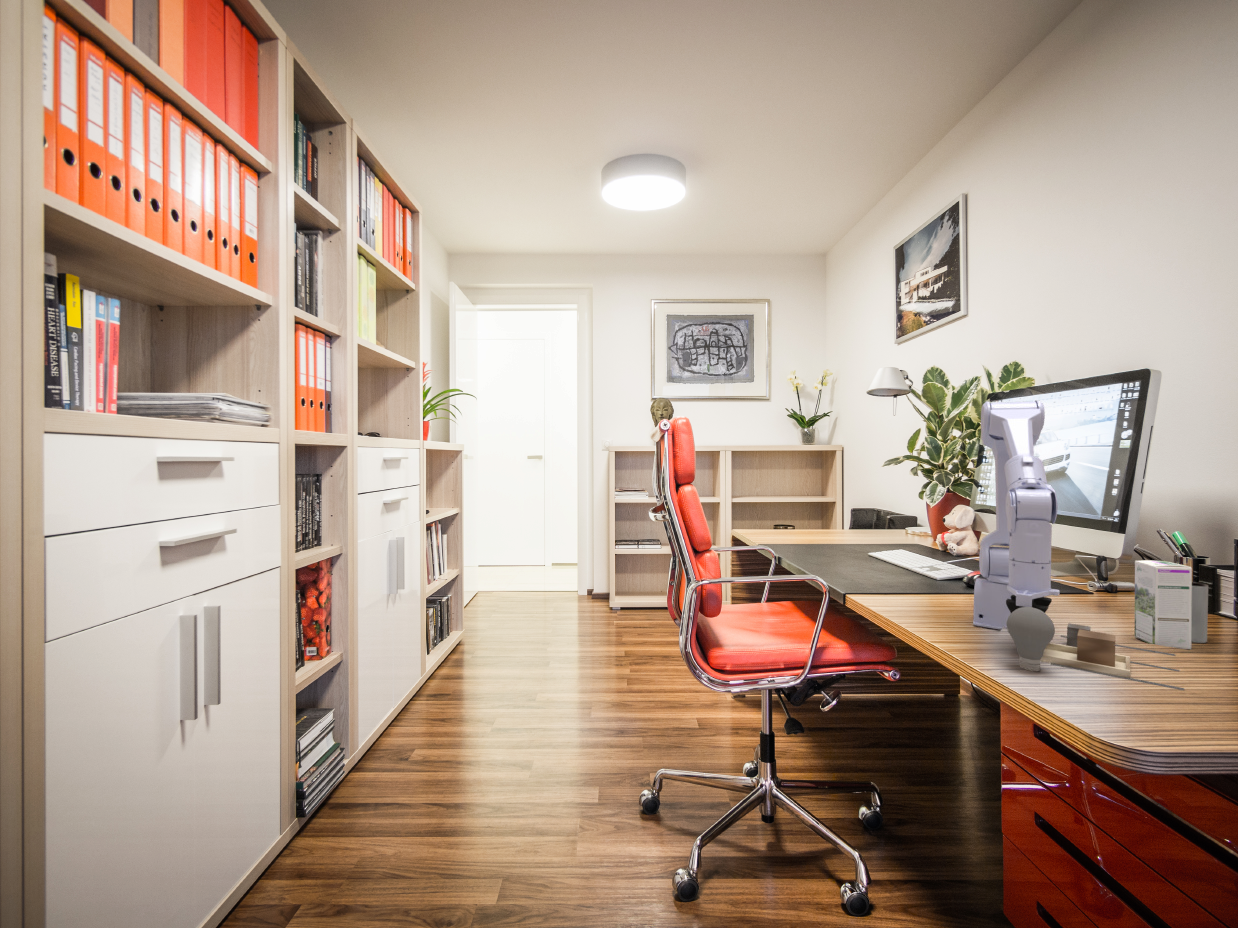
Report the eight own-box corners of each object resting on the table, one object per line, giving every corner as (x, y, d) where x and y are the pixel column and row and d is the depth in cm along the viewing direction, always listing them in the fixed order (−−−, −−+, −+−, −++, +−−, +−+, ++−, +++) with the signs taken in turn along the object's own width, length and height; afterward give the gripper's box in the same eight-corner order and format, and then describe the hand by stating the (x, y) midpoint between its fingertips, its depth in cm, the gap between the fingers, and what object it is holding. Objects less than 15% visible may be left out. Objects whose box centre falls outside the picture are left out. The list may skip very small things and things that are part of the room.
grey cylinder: (1165, 635, 109) (1166, 580, 109) (1187, 635, 109) (1188, 580, 109) (1191, 643, 104) (1192, 586, 104) (1214, 642, 105) (1215, 585, 104)
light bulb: (1045, 668, 91) (1046, 604, 91) (1060, 682, 85) (1061, 614, 85) (1000, 663, 93) (1002, 601, 92) (1012, 676, 87) (1013, 610, 87)
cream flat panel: (1065, 653, 98) (1066, 630, 98) (1069, 642, 104) (1069, 619, 104) (1176, 674, 89) (1177, 648, 89) (1173, 659, 95) (1173, 635, 95)
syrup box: (1193, 649, 101) (1195, 566, 100) (1153, 647, 102) (1155, 564, 102) (1169, 639, 106) (1170, 560, 106) (1131, 637, 107) (1133, 559, 107)
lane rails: (1050, 668, 91) (1050, 663, 91) (1060, 639, 106) (1060, 635, 106) (1184, 695, 81) (1184, 689, 81) (1174, 658, 96) (1175, 654, 96)
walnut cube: (1076, 664, 91) (1077, 635, 91) (1078, 656, 94) (1079, 629, 94) (1114, 671, 88) (1115, 641, 88) (1114, 663, 91) (1115, 634, 91)
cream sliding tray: (1015, 659, 94) (1016, 619, 94) (1022, 646, 101) (1022, 609, 101) (1130, 681, 85) (1131, 637, 85) (1129, 666, 92) (1130, 625, 92)
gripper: (1056, 569, 88) (1054, 658, 89) (1063, 558, 99) (1061, 637, 100) (1001, 564, 93) (999, 648, 93) (1013, 553, 104) (1012, 628, 104)
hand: (1028, 642), depth 97 cm, fingers closed on cream sliding tray, 3 cm apart
